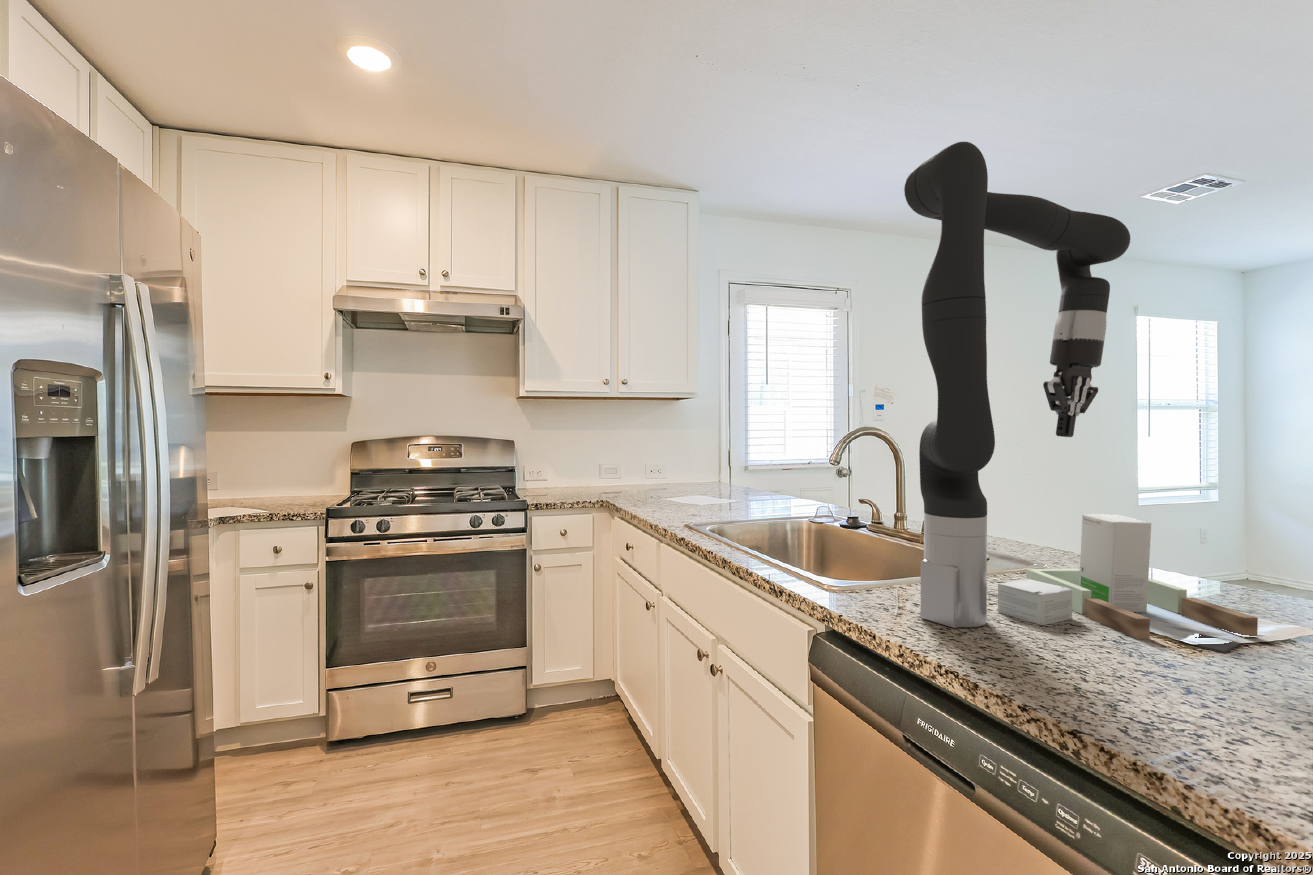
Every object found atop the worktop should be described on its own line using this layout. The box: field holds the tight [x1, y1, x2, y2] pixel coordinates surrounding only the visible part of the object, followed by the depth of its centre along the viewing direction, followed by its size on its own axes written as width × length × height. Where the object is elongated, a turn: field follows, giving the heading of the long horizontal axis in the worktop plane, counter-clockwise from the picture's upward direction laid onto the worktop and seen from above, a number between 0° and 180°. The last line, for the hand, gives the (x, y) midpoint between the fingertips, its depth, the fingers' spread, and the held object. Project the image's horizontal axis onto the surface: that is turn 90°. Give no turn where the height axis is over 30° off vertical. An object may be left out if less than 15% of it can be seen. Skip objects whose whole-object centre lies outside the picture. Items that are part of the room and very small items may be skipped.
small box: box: [997, 579, 1073, 626], centre depth 100 cm, size 8×8×5 cm
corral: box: [1025, 568, 1188, 615], centre depth 108 cm, size 15×18×4 cm
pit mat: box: [1195, 633, 1241, 654], centre depth 87 cm, size 6×5×1 cm
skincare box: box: [1079, 513, 1152, 613], centre depth 105 cm, size 8×7×16 cm
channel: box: [1084, 597, 1259, 640], centre depth 94 cm, size 10×18×3 cm, turn 90°
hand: (1064, 436), depth 108 cm, fingers closed
